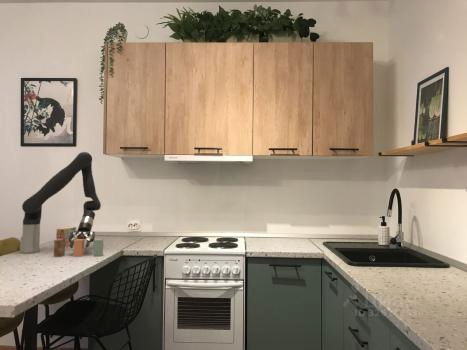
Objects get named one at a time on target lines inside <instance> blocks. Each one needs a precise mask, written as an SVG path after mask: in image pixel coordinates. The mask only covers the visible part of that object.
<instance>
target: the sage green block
mask: <svg viewBox="0 0 467 350" xmlns="http://www.w3.org/2000/svg"><path fill="white" fill-rule="evenodd" d="M92 249H93V251H92V253H93V254H92V256H93V257H102V256H104V238H94V242H93V248H92Z"/></svg>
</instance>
